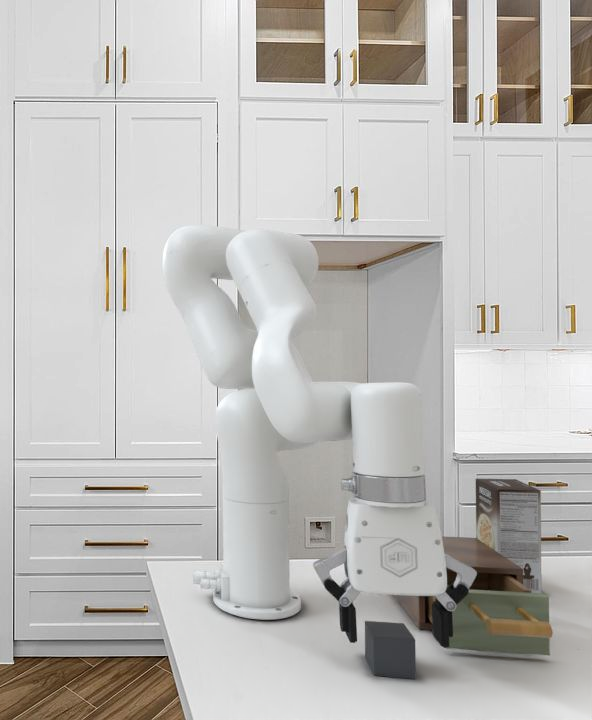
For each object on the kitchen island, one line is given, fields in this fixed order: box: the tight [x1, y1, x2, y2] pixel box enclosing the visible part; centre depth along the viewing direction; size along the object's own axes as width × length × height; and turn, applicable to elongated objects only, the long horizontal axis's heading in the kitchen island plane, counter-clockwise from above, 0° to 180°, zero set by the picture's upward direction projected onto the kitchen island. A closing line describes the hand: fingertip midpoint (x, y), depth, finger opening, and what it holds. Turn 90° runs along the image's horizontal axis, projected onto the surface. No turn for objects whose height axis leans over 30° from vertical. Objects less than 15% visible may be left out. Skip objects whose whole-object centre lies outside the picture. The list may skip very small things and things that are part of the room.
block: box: [364, 620, 417, 680], centre depth 69 cm, size 4×4×4 cm
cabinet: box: [393, 535, 523, 631], centre depth 86 cm, size 15×13×9 cm
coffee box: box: [475, 478, 543, 593], centre depth 96 cm, size 9×6×16 cm
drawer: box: [425, 571, 554, 656], centre depth 75 cm, size 20×11×7 cm, turn 170°
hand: (395, 640), depth 68 cm, fingers open, 9 cm apart
